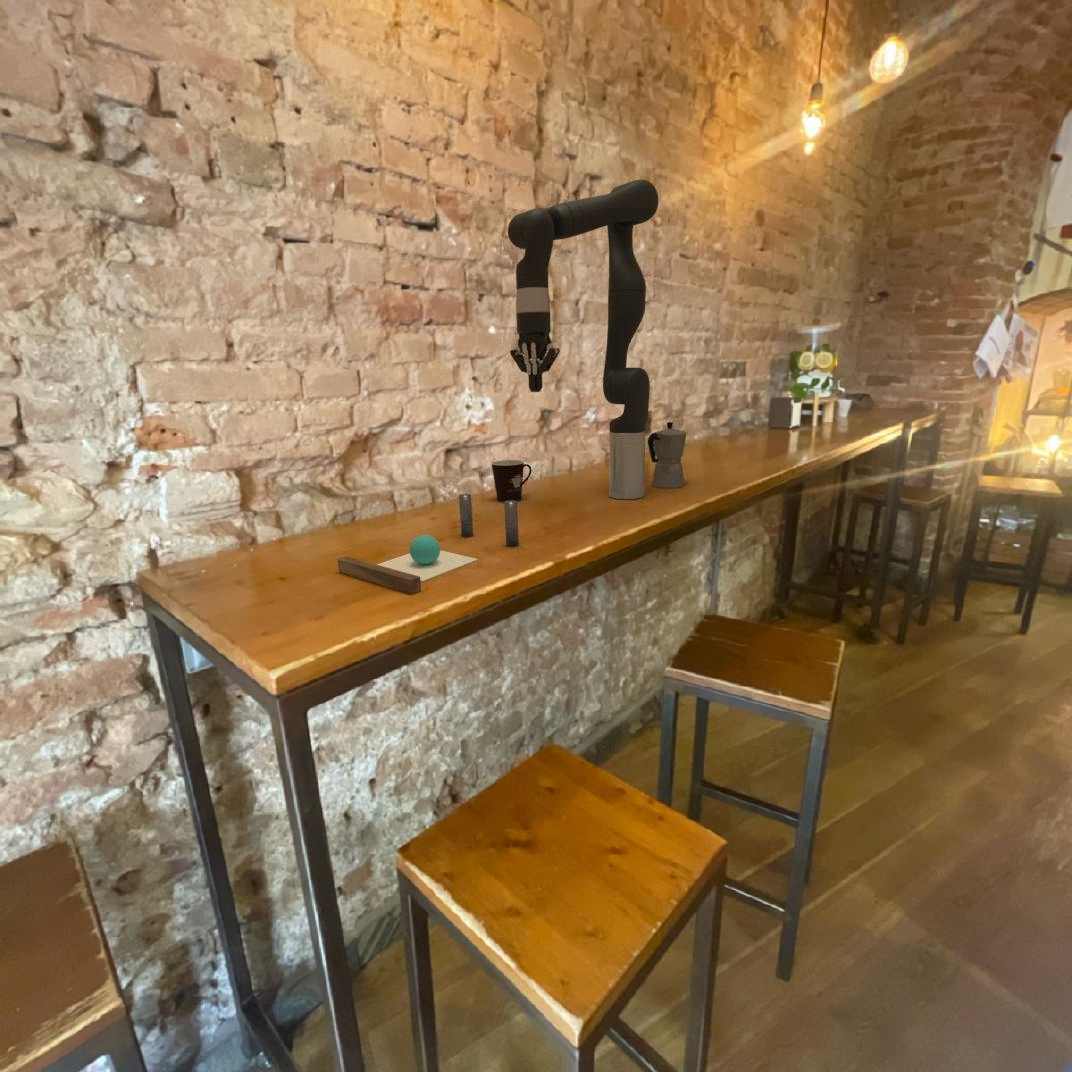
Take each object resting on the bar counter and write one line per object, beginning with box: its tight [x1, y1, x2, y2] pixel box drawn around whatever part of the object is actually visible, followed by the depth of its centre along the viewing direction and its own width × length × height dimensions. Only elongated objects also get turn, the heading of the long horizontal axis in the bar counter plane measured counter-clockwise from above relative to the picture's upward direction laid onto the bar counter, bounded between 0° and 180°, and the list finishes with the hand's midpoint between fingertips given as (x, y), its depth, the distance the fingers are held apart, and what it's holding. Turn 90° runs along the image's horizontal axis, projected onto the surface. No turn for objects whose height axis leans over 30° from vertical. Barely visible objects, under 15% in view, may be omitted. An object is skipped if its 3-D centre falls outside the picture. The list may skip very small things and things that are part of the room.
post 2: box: [503, 500, 520, 548], centre depth 124 cm, size 3×3×9 cm
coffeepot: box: [647, 421, 688, 490], centre depth 173 cm, size 15×9×18 cm, turn 129°
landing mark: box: [376, 549, 479, 583], centre depth 116 cm, size 14×14×1 cm
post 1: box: [458, 493, 474, 538], centre depth 132 cm, size 3×3×9 cm
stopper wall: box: [337, 555, 422, 595], centre depth 107 cm, size 2×20×2 cm, turn 52°
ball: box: [409, 534, 441, 565], centre depth 115 cm, size 6×6×6 cm
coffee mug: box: [491, 459, 533, 503], centre depth 164 cm, size 12×9×10 cm
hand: (535, 391), depth 140 cm, fingers closed
